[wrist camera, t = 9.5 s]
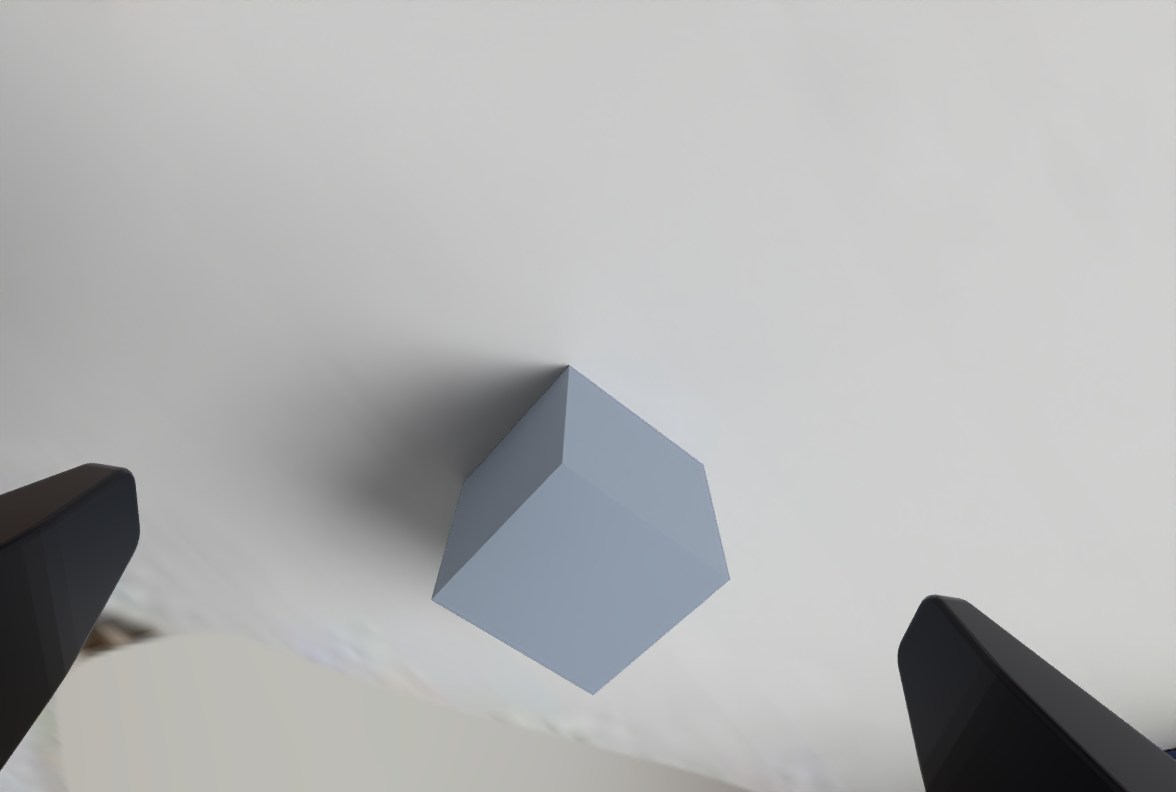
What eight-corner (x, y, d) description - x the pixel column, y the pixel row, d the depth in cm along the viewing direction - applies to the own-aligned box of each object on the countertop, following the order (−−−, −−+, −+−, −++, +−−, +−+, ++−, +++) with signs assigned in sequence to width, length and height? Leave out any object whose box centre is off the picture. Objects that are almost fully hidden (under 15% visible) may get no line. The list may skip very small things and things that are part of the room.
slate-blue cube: (463, 481, 22) (431, 599, 18) (569, 364, 21) (562, 462, 16) (593, 566, 24) (593, 695, 19) (703, 463, 22) (730, 579, 18)
